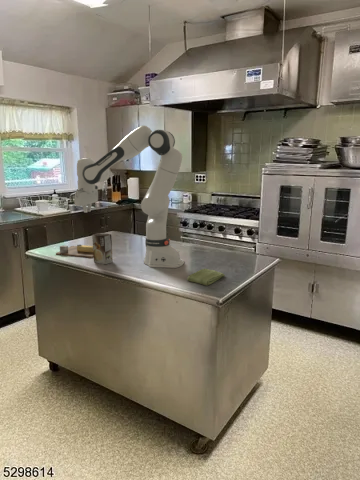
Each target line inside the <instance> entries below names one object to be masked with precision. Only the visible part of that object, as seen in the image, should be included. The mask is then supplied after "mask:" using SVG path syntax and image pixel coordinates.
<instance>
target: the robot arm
mask: <svg viewBox="0 0 360 480" xmlns="http://www.w3.org/2000/svg"><path fill="white" fill-rule="evenodd" d="M175 139H176V138H175V136H174V135H173V133H171V132H170V131H168V130H164V129H154V130H151V128H150V127H148V126H147V125H144V124H143V125H140V126H137V128H135V129H134V130H132V131H131V132H129V133H128V134H127V135H126V136H124V138H122V140H120V142H118V143H117V145H116V146H114V147H113V148H112V149H111V150H110V151H108V152H107V153H106V154H105V155H103V156H102V157H101V158H100V159H98V160H97V161H96V160H94V159H93V158H92V157H84V158H80V159H78V160H77V162H76V176H77V189H76V191H75V193H74V205H75V206H76V207H82V209H83V213H88V212H89V213H90V212H91V211H92V205H93V204H94V203H98V202H99V191H98V190H99V185H97V184H99V183H102V182H106V181H107V180H109V179H110V176H111V171H110V168H111V167H113V166H114V165H115V164H117V163H119V162H122V161H126V160H131V159H133V158H136V156H138V155H139V154H140V153H142V152H143V151H144V150H145V149H147V148H148V147H150V149H151V150H153V151H154V152H155V153H156V154H157V155H159V156H160V161H159V163H158V166H157V168H156V172H155V174H154V177H153V179H152V181H151V184H150V186H149V188H148V190H147V191H146V193H145V195H144V197H143V199H142V201H141V203H140V207H141V208H140V209H141V210H142V212H143V213H144V214H146V215H148V216H147V220H146V223H145V232H146V234H145V243H144V244H145V257H144V260H143V264H145V265H146V266H148V267H150V268H172V269H175V268H176V269H177V268H180V267H182V266H183V264H184V263H185V262H184V259H182V258H181V257H180V251H178V250H177V249H176V248H175V247H173V246H172V245H171V243H170V242H171V238H168V237H167V221H168V214H169V205H170V202H171V201H170V197H169V194H170V193H171V191H172V189H173V188H174V185H175V183H176V180H177V177H178V174H179V172H180V168H181V164H182V160H183V154H182V153H181V151H180V150H178V149H176V148H175V144H176V140H175Z"/></svg>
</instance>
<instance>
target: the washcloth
mask: <svg viewBox="0 0 360 480" xmlns="http://www.w3.org/2000/svg"><path fill="white" fill-rule="evenodd" d="M225 276H226V275H225V274H224V273H223V272H220V271H217V270H214V269H208V268H202V269H200V270H198V271H196V272H194V273H191V274H190V275H188V276H187V278H186V280H187V281H188V282H192V283H197V284H199V285H203V286H207V287H208V286H209V285H212V284H214V283H216V282H217V281H218V280H220V279H221V278H224V277H225Z"/></svg>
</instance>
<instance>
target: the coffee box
mask: <svg viewBox="0 0 360 480" xmlns="http://www.w3.org/2000/svg"><path fill="white" fill-rule="evenodd" d="M91 236H92V246H93V255H94V257H93V263H96V264H101V265H108V264H111V263H113V262H114V261H113V243H112V240H113V239H112V233H111V234H110V233H104V232H95V233H94V234H92V235H91Z"/></svg>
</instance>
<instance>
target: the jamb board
mask: <svg viewBox="0 0 360 480" xmlns="http://www.w3.org/2000/svg"><path fill="white" fill-rule="evenodd" d="M55 255H56V256H64V257H67V256H68V257H76V258H88V259H94V255H93V253H91V252H78V251H77V245H71V246H68V245H65V244H64V245H63V244H61V245H60V246H59V251H58V252H55Z"/></svg>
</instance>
